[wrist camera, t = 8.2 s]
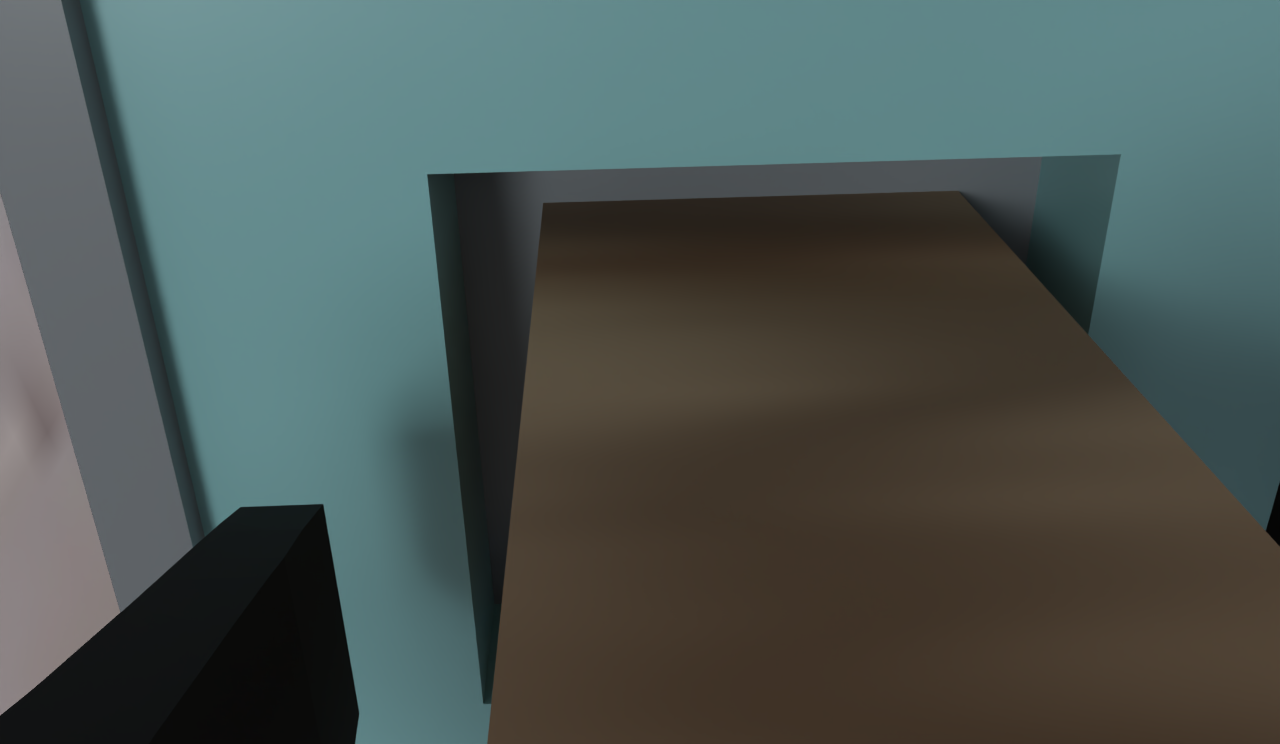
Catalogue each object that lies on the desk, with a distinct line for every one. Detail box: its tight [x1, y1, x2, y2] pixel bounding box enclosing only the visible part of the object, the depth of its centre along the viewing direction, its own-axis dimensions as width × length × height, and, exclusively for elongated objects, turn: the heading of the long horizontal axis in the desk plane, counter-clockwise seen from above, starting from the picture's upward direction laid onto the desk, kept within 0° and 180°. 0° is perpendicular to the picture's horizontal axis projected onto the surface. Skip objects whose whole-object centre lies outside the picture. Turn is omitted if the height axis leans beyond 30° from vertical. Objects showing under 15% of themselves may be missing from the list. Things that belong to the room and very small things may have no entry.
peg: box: [487, 191, 1280, 744], centre depth 8 cm, size 4×4×8 cm
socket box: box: [0, 0, 1280, 744], centre depth 11 cm, size 12×12×2 cm
